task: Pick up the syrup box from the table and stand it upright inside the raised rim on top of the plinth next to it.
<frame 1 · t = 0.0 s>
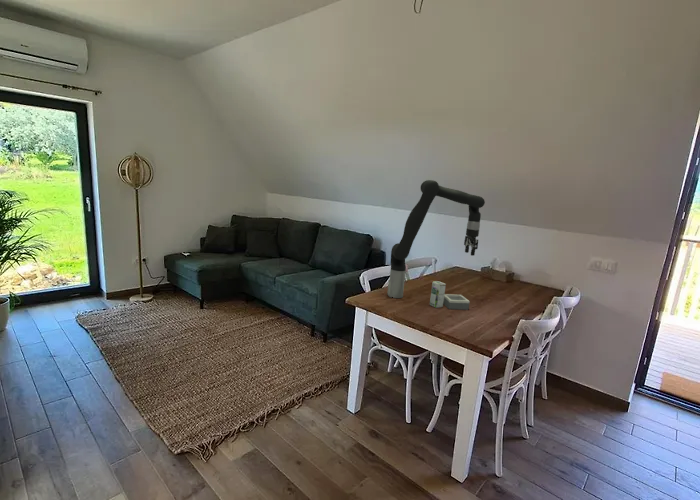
hand: (469, 253, 234), 29 cm above the table, tool pointing down, fingers open, 8 cm apart
syrup box: (436, 306, 221), on the table
plinth: (454, 305, 223), on the table
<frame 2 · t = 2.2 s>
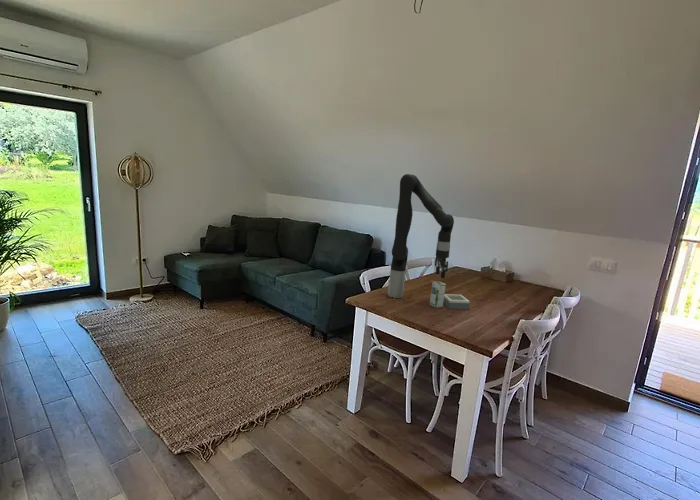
hand: (439, 276, 217), 18 cm above the table, tool pointing down, fingers open, 8 cm apart
nothing on the table moved.
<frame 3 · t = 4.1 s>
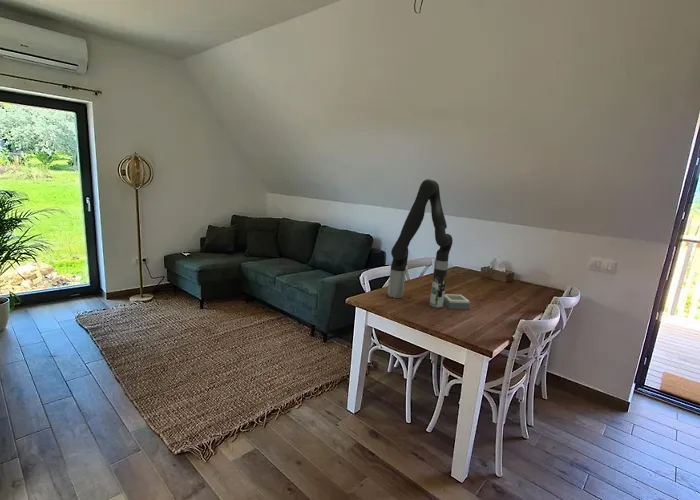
hand: (437, 294, 219), 7 cm above the table, tool pointing down, fingers closed on syrup box, 7 cm apart
syrup box: (436, 306, 221), on the table, touching gripper
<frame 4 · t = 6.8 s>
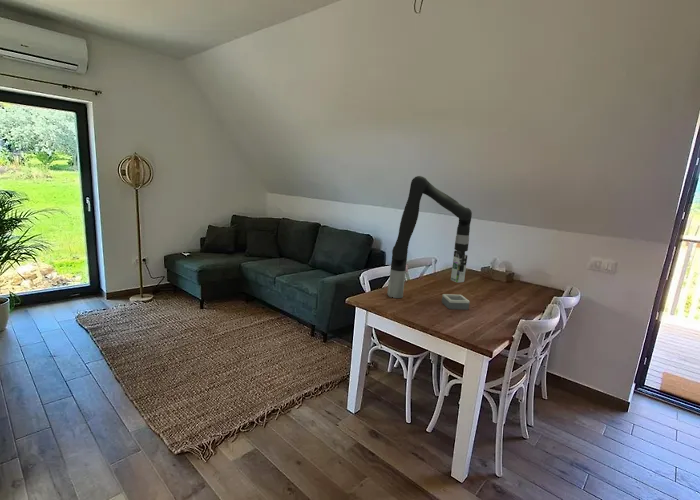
hand: (458, 270, 218), 22 cm above the table, tool pointing down, fingers closed on syrup box, 7 cm apart
syrup box: (457, 281, 220), point 15 cm above the table, touching gripper
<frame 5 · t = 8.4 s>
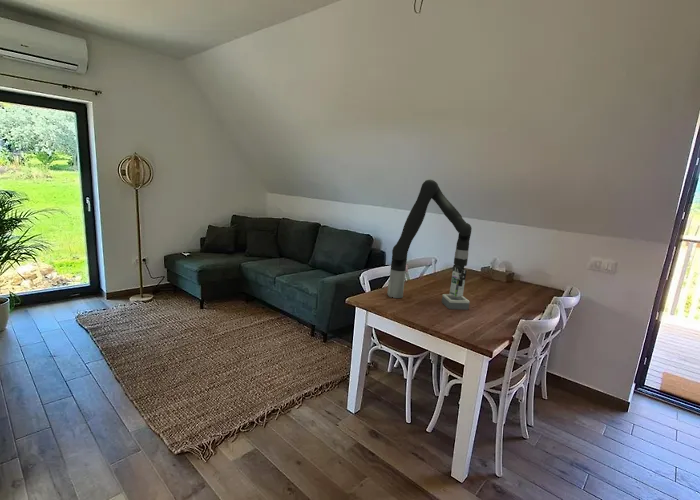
hand: (457, 284, 221), 14 cm above the table, tool pointing down, fingers closed on syrup box, 7 cm apart
syrup box: (456, 295, 222), point 7 cm above the table, touching gripper
when the fingers open (12 cm above the table, at t = 9.7 s): syrup box drops 1 cm, resting on plinth.
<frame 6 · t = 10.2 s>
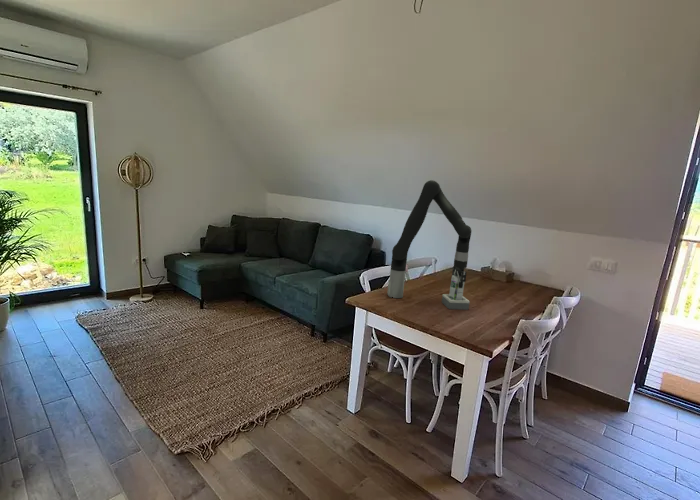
hand: (457, 285, 221), 13 cm above the table, tool pointing down, fingers open, 8 cm apart
syrup box: (455, 299, 223), point 4 cm above the table, touching plinth
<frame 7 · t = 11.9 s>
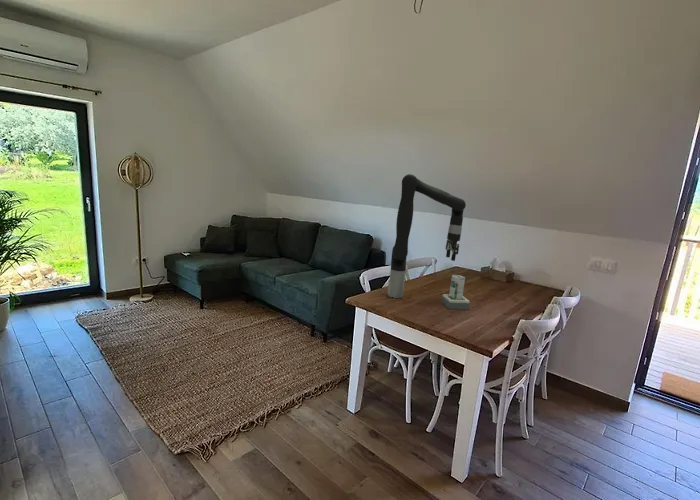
hand: (450, 258, 223), 27 cm above the table, tool pointing down, fingers open, 8 cm apart
nothing on the table moved.
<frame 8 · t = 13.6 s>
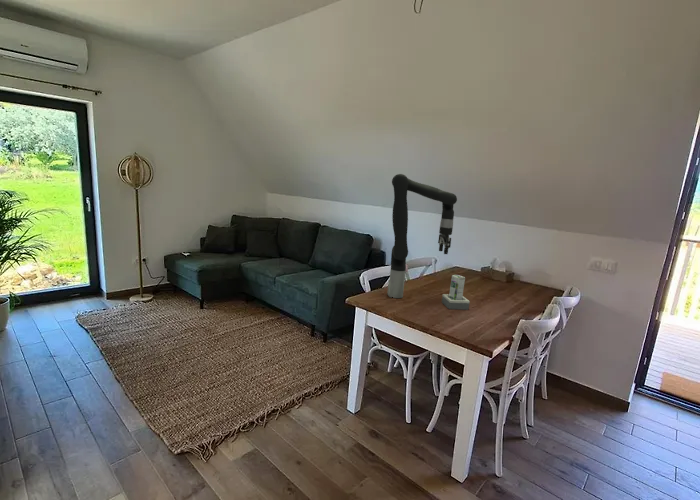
hand: (443, 252, 227), 30 cm above the table, tool pointing down, fingers open, 8 cm apart
nothing on the table moved.
at the end: syrup box 0.3 cm off-centre on the plinth, point 3.8 cm above the plinth's base; syrup box tilted 0°; the gripper is holding nothing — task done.
